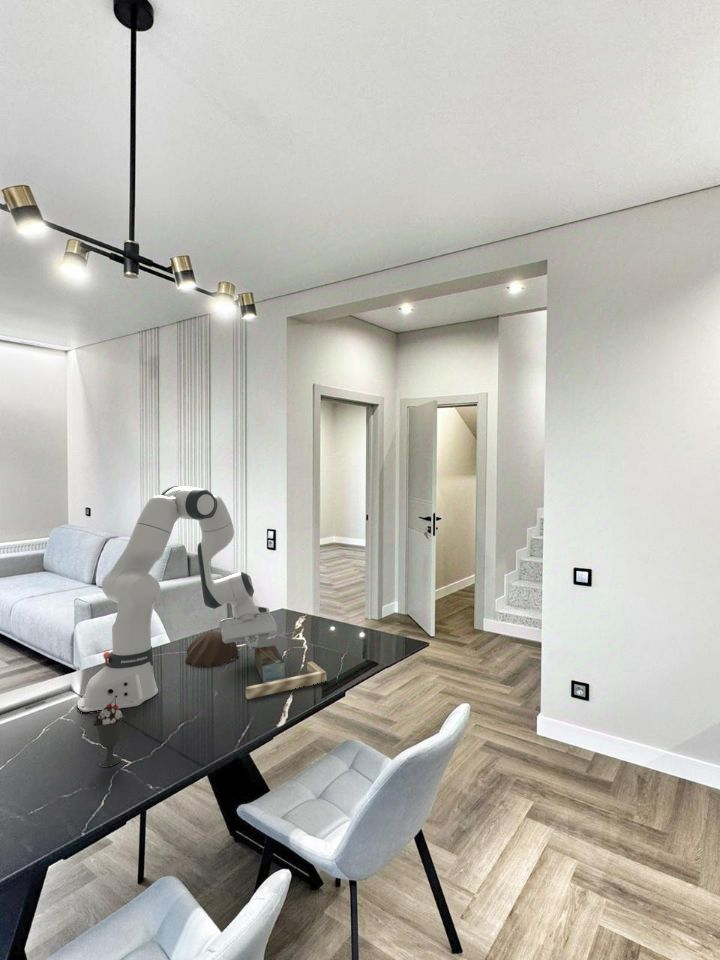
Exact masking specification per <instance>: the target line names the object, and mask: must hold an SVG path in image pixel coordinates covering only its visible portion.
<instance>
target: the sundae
mask: <svg viewBox="0 0 720 960" xmlns="http://www.w3.org/2000/svg"><path fill="white" fill-rule="evenodd" d="M115 697H118V695H117V696H115ZM115 697H114V698H115ZM113 700H114V699H113ZM115 701H116V698H115ZM112 702H113V701H112ZM112 702H111V703H112ZM111 703H110V704H108V705H107V706H106V707H105V708H104V709H103V710H102V711H99V712H100V713H99V716H98V715H97V714H94V717H95V719H94V720H93V722H92V724H93V727H96V729H97V733H98V739H99V744H100V745H101V746H102V747H103V748H105V749H106V752H107V755H106V757H105V758H102V759H101V760H100V761H101V763H100V764H101V766H110V765H115V764H117V765H118V764H120V763H121V761H122V760H123V758H122V756H120V755H115V754H114V752H113V751H114V750H113V748H114V746H115V745H117V744H118V742H119V741H120V735H121V726H122V721H123V719H124V718H126V717H125V715H123V714H122V712H121V710H120V709H119V708H118V706H117V705H116V702H115V705H114V706H113V707H112V705H111ZM119 762H120V763H119ZM115 766H116V765H115Z"/></svg>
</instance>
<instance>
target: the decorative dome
mask: <svg viewBox="0 0 720 960" xmlns="http://www.w3.org/2000/svg"><path fill="white" fill-rule="evenodd" d="M238 652H239V653H240V651H239V648H238V645H237V642H232V643H224V642H223V641H222V631H221V632H220V631H213V630H212V631H208V632H204V633H202V634H200V635H199V636H197V637H196V638H195V639H194V641H192V643H191V644H190V645H189V646H188V647H187V650H186V655H187V656H186V658H185V663H186V664H190V665H191V666H192V667H197V666H198V667H201V666H202V667H212V666H216V665H225V663H226V664H228V663H229V662H230V660H231V659H234V658H236V657H238V658H239V654H238ZM234 660H235V659H234ZM231 661H232V660H231Z"/></svg>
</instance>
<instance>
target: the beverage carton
mask: <svg viewBox="0 0 720 960" xmlns="http://www.w3.org/2000/svg"><path fill="white" fill-rule="evenodd" d="M254 664H255V667H256V669H257V671H258V674H259V676H260V679H261V680H262V682H263V683H267V682H272V681H276V680H281V679H286V664H285V661H284V659H283V657H282V655H281V653H280V651H279V649H278V648H277V646H276V645H271V646H270V645H269V646H263V647H258V648H255V649H254Z"/></svg>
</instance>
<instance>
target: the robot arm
mask: <svg viewBox="0 0 720 960" xmlns="http://www.w3.org/2000/svg"><path fill="white" fill-rule="evenodd" d="M180 518H181V519H183V520H196V521H198V523H199V527H200V530H201V541H200V542H199V543H198V544H197V550H196V551H197V561H198V568H199V576H200V584H201V599H202V602H203V604H204V606H206V607H208V608H210V609H213V610H214V609H215V610H216V609H217V608H220V607H222V606H224V605H227V604H230V605H231V607H232V609H231V610H232V611H231V612H232V616H233V617H229V618H222V620H219V622H218V627H219V629H220V631H221V633H222V641H223V642H224V643H232V642H235V643H237V642H242V641H243V642H244V644H246V646H247V647H248V650H249V651H253V650H255V648H259V645H258V641H259V638H260V639H261V638H265V637H266V638H267V637H273V636H275V635H276V633H277V631H278V626H277V623H276V620H275V618H274V616H273V615H272V614H271V613H270V611H271V610H270V608H268V607H266V606H259V605H256V604H255V602H254V596H253V595H254V592H255V589H254V587H253V582H252V579H251V576H250V575H248V574H247V573H245V572H243V571H241V572H235V573H233V574H230V575H228V576H224V577H222V578H219V579H213V578H212V577H213V576H212V569H211V562H212V559H213V558H214V557H215V556H216V555H217V554H219V553H220V552H221V551H222V550H224V549H226V548H227V547H228V546H229V545H230V544H231V542H232V541H233V538H234V535H235V529H234V525H233V520H232V518H231V514H230V512H229V510H228V508H227V506H226V504H225V502H224V501H223V499H222V497H220V496H219V495H216V494H213V493H212V492H211V491H209V490H208V489H205V488H202V487H194V486H190V485H185V486H184V485H183V486H182V485H181V486H179V485H178V486H177V485H175V486H170V487H168V488H166V489H165V490H164V491H162V493H161V494H160V495H153V496H151V498H149V500H148V501H147V503H146V504H145V506H144V507H143V509H142V511H141V513H140V514H139V517H138V519H137V521H136V524H135V526H134V529H133V531H132V533H131V534H130V535H131V536H130V539H129V540H128V542H127V545H126V547H125V548H124V550H123V552H122V553H121V555H120V557H119V558H118V559H117V561H116V563H115V564H114V566H113V567H112V569H111V570H110V571H108V572H107V574H105V576H103V579H102V582H101V589H102V592H103V594H104V595H105V596H106V598H107V599H109V600H110V601H112V602H113V603H117V611H116V612H117V613H116V617H115V620H114V623H113V624H112V627H111V639H112V640H111V642H112V644H111V645H112V646H111V647H112V648H111V649H112V651H111V652H110V651H105V652H104V653H103V654H102V656H103V659H104V661H105V662H104V663H105V666H103V667H102V668H101V669H100V670H99V671H98V672H97V673H96V674H94V675H93V676H91V678H90V679H89V681H88V683H87V684H86V688H85V693H84V694H85V698H80V697H79V698H80V699H79V698H78V699H79V700H77V702H76V703H77V705H78V708H79V709H81V710H83V711H94V710H103V709H104V708H105V707H106V706H107V705H108V704H110V703H111V702H112V701H113V702H112V703H111V705H112V707H113V706H114V705H115V702H116V705H117V706H118V709H123V708H124V709H125V708H133V707H137V706H140V705H141V704H143V703H144V702H145V701H148V700H149V699H151V698H153V697H154V696H156V695H157V694H158V693H159V689H158V686H157V683H156V680H155V679H156V678H155V675H154V668H153V666H154V648H153V646H152V634H151V633H152V627H151V626H152V618H153V612H154V607H155V603H156V602H157V601H158V599H160V597H161V596H160V595H161V585H160V582H159V581H158V580H157V579H156V578H155V577H154V576H153V575H151V574H150V571H151V570H152V568H153V567H154V566H155V564H156V563H158V561H160V560H161V559H162V557H163V555H164V552H165V550H166V548H167V545H168V542H169V539H170V537H171V534H172V532H173V529H174V526H175V523H176V522H177V521H178V520H179V519H180ZM249 640H253V641H254V642H250V641H249ZM117 695H118V697H115V696H117ZM114 697H115V698H116V701H115V698H114ZM113 699H114V700H113ZM77 705H76V706H77ZM82 707H84V708H82Z"/></svg>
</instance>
